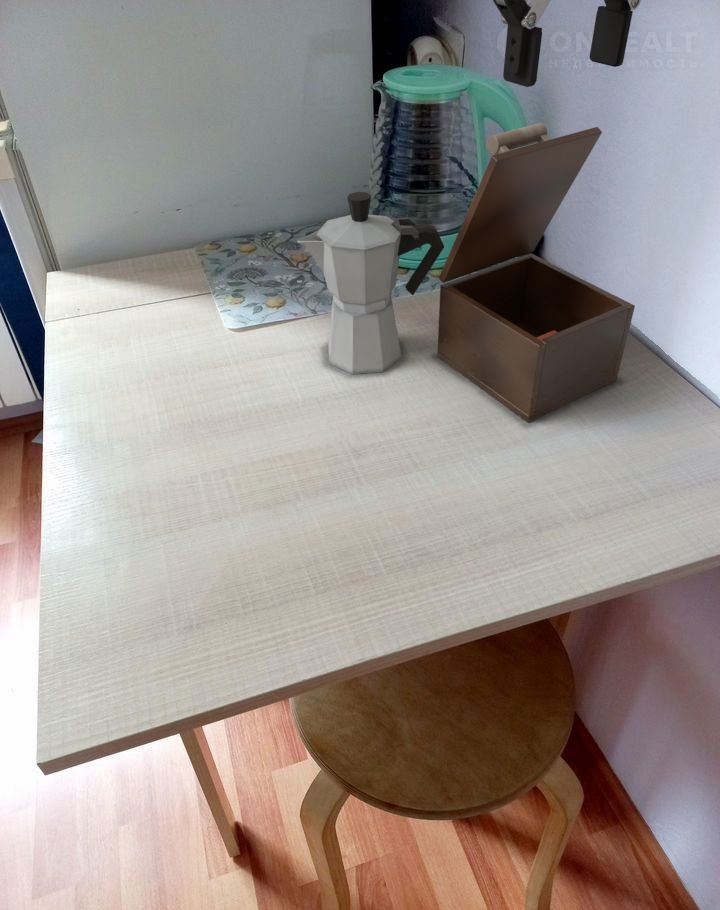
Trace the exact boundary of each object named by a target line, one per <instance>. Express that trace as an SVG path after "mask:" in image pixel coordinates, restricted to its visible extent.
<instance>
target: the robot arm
mask: <svg viewBox="0 0 720 910" xmlns="http://www.w3.org/2000/svg"><path fill="white" fill-rule="evenodd" d="M492 1H493V3H494V5H495V6H496V8H497V10H498V11H499V13H500V14H501V15H500V18H501V23H503V24H504V25H507V30H506V40H505V52H504V62H503V72H502V73H503V74H502V77H503V80H504V81H506V82H509V83H512V84H516V85H518V86H522V87H526V88H530V87H534V86H535V84H536V83H537V81H538V71H539V63H540V55H541V47H542V39H543V27H540V26H539V27H538V26H537V24H538V22H539V21H540V19H541V17H542V16H543V14H544V12H545V11H546V9H547V7H548V6H549V4H550V2H551V1H552V0H530V1H529V0H492ZM528 1H529V3H528ZM603 3H604V5H599V6H597V11H596V14H595V21H594V26H593V31H592V39H591V45H590V51H589V60H590V61H591V62H592V63H593V62H594V63H596V64H600V65H605V66H609V67H614V68H617V67H621V66H622V65H623V63H624V60H625V55H626V50H627V44H628V39H629V33H630V29H631V23H632V19H633V12H634V11H635V10H637V9H638V8H639V6H640V4H641V0H603Z"/></svg>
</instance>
